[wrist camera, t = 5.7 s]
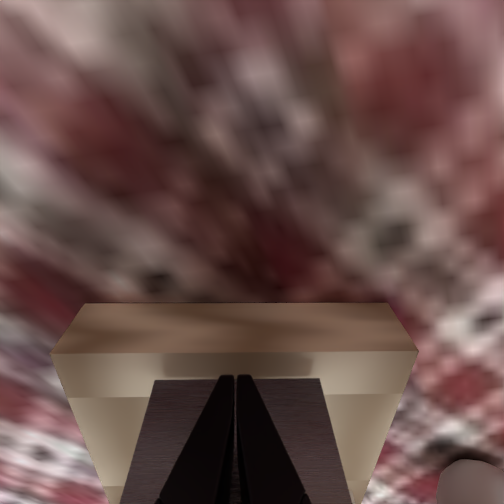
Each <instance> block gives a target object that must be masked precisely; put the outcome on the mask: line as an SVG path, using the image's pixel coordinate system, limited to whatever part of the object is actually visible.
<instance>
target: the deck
mask: <svg viewBox="0 0 504 504" xmlns="http://www.w3.org/2000/svg"><path fill="white" fill-rule="evenodd" d="M418 352H419V350H418V349H417V347H416V346H415V344H414V343H413V341H412V340H411V338H410V337H409V335H408V333H407V332H406V330H405V329H404V327H403V326H402V324H401V323H400V321H399V320H398V318H397V317H396V315H395V314H394V312H393V310H392V309H391V307H390V306H389V304H388V303H85V304H84V305H83V307H82V308H81V309H80V311H79V312H78V314H77V315H76V317H75V318H74V319H73V321H72V322H71V324H70V325H69V327H68V328H67V329H66V331H65V332H64V334H63V335H62V337H61V338H60V340H59V341H58V342H57V344H56V345H55V347H54V348H53V350H52V351H51V352H50V356H51V359H52V361H53V364H54V366H55V369H56V371H57V374H58V376H59V379H60V381H61V384H62V386H63V389H64V391H65V394H66V396H67V399H68V401H69V404H70V406H71V409H72V411H73V414H74V416H75V419H76V421H77V424H78V426H79V429H80V431H81V434H82V436H83V439H84V441H85V444H86V446H87V449H88V451H89V454H90V456H91V459H92V461H93V464H94V466H95V469H96V471H97V474H98V476H99V479H100V481H101V484H102V486H103V489H104V491H105V494H106V496H107V499H108V501H109V504H119V503H120V500H121V496H122V493H123V489H124V486H125V482H126V479H127V475H128V472H129V468H130V465H131V461H132V458H133V454H134V451H135V447H136V444H137V440H138V437H139V433H140V430H141V426H142V423H143V419H144V416H145V412H146V409H147V405H148V402H149V399H150V395H151V392H152V388H153V385H154V381H155V380H189V379H218V378H219V376H220V375H227V374H232V375H234V379H237V375H239V374H250V375H251V376H252V377H253V379H280V378H320V382H321V386H322V390H323V394H324V397H325V401H326V405H327V409H328V413H329V416H330V420H331V424H332V428H333V432H334V436H335V439H336V443H337V447H338V451H339V455H340V459H341V462H342V466H343V470H344V474H345V478H346V482H347V485H348V489H349V490H352V493H353V497H354V501H355V504H361V502H362V499H363V497H364V494H365V492H366V489H367V486H368V484H369V481H370V478H371V476H372V473H373V470H374V468H375V465H376V463H377V460H378V457H379V455H380V452H381V449H382V447H383V444H384V442H385V439H386V436H387V434H388V431H389V428H390V426H391V423H392V421H393V418H394V415H395V413H396V410H397V407H398V405H399V402H400V399H401V397H402V394H403V392H404V389H405V386H406V384H407V381H408V378H409V376H410V373H411V371H412V368H413V365H414V363H415V360H416V357H417V355H418Z"/></svg>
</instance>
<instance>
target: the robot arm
mask: <svg viewBox="0 0 504 504" xmlns="http://www.w3.org/2000/svg"><path fill="white" fill-rule="evenodd" d="M236 426H237V461H238V472H239V482H240V491H241V501H242V504H312V502H311V500H310V498H309V496H308V494H307V493H306V490H305V488H304V485H303V483H302V481H301V479H300V477H299V475H298V473H297V471H296V468H295V466H294V464H293V462H292V460H291V458H290V456H289V454H288V452H287V449H286V447H285V445H284V443H283V441H282V439H281V437H280V435H279V432H278V430H277V428H276V426H275V424H274V422H273V420H272V418H271V416H270V413H269V411H268V409H267V407H266V405H265V403H264V401H263V399H262V396H261V394H260V392H259V390H258V388H257V386H256V384H255V382H254V380H253V377H252V376H251V375H250V374H239V375H237V391H236ZM234 433H235V381H234V375H232V374H227V375H220V376H219V378H218V380H217V382H216V384H215V386H214V388H213V390H212V391H211V393H210V395H209V397H208V399H207V401H206V403H205V405H204V407H203V409H202V411H201V413H200V415H199V417H198V419H197V421H196V423H195V425H194V427H193V429H192V431H191V433H190V434H189V436H188V438H187V440H186V442H185V444H184V446H183V448H182V450H181V452H180V454H179V456H178V458H177V460H176V462H175V464H174V466H173V468H172V470H171V472H170V474H169V476H168V477H167V479H166V481H165V483H164V485H163V487H162V489H161V491H160V493H159V498H157V499H156V501H155V503H154V504H229V497H230V488H231V480H232V472H233V462H234Z"/></svg>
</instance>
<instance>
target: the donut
mask: <svg viewBox="0 0 504 504" xmlns="http://www.w3.org/2000/svg"><path fill="white" fill-rule="evenodd" d="M436 500H437V504H504V471H503V470H501V469H499V468H497V467H495V466H493V465H491V464H489V463H486V462H483V461H478V460H469V459H460V460H458V461H455V462H453V463H452V464H451V465H449V466H448V467H447V468H445V469H444V471H443V472H442V473H441V474H440V478H439V483H438V488H437V493H436Z"/></svg>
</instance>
